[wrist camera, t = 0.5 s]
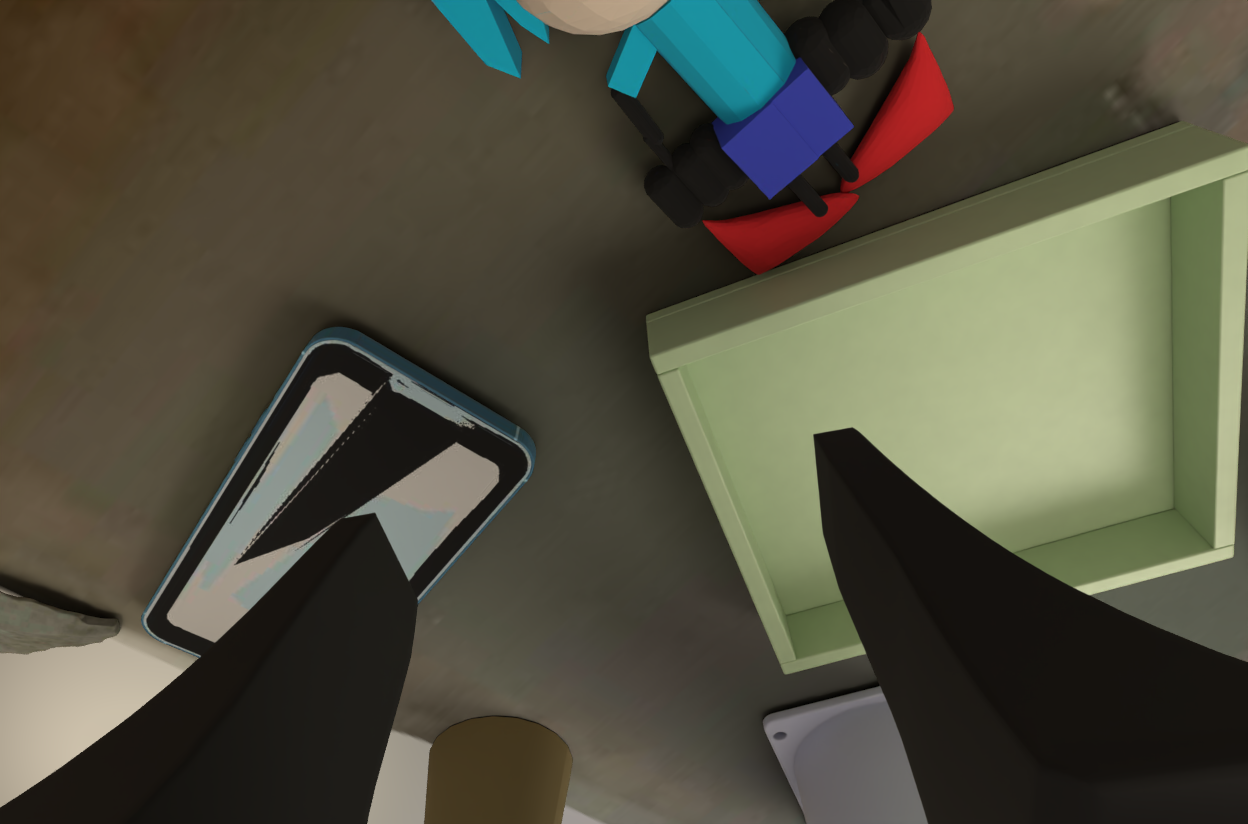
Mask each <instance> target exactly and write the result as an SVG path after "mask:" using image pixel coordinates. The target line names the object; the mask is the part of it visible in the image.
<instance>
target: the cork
mask: <svg viewBox="0 0 1248 824" xmlns="http://www.w3.org/2000/svg"><path fill="white" fill-rule="evenodd" d="M572 762H573V759H572V756H571V753H570V751H569V748H568V746H567V745H566V744H565V743H564V742H563V741H562V739H561V738H560V737H559V736H558V735H557V734H556V733H554V732H552V731H550V730H548V729H546V728H545V727H543V726H541V725H539V724H537V723H533V722H529V721H526V720H522V719H519V718H511V717H496V716H491V717H484V718H476V719H470V720H467V721H464V722H462V723H459V724H456V725H454V726H451V727H450V728H448V729H447V730H446V731H444V732H443V733H442V734H441V735H439V736H438V737H437V738H436V740H435V742H434V743H433V745H432V747H431V749H430V753H429V766H428V780H427V794H426V808H425V820H424V824H561V823H562V817H563V811H564V807H565V801H566V796H567V790H568V785H569V780H570V774H571V768H572Z"/></svg>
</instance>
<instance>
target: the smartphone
mask: <svg viewBox="0 0 1248 824" xmlns="http://www.w3.org/2000/svg"><path fill="white" fill-rule="evenodd" d="M251 433H252V435H251V437H248V439H247V440H246V442H245V444H244V445H243V447H242V449H241V450H240V452H239V453H238V455H237V457H236V458H235V460H234V461H235V463H234V465H233V466H232V468H231V470H230V471H229V473H228V474H227V476H226V478H225V479H224V481H223V483H222V484H221V486H220V488H219V489H218V491H217V492H216V494H215V496H214V497H213V499H212V501H211V502H210V504H209V506H208V507H207V509H206V510H205V512H204V514H203V515H202V517H201V519H200V520H199V522H198V524H197V525H196V527H195V528H194V530H193V532H192V533H191V535H190V537H189V538H188V540H187V542H186V543H185V545H184V547H183V548H182V550H181V551H180V553H179V555H178V556H177V558H176V560H175V561H174V563H173V565H172V566H171V568H170V569H169V571H168V573H167V574H166V576H165V578H164V579H163V581H162V583H161V584H160V586H159V587H158V589H157V591H156V592H155V594H154V596H153V597H152V599H151V601H150V602H149V604H148V605H147V607H146V609H145V610H144V612H143V614H142V616H141V622H142V625H143V628H144V629H145V630H146V632H147V633H148V634H149V635H150V636H152V637H153V638H155V639H156V640H158V641H160V642H162V643H165V644H167V645H169V646H172V647H174V648H177V649H179V650H182V651H184V652H187V653H189V654H191V655H194V656H196V657H199V658H200V657H201V656H202V655H203V654H204V653H205V652H206V651H207V650H208V649H209V648H210V647H211V646H212V645H213V644H214V643H215V642H216V641H217V640H219V639H220V638H221V637H222V636H223V635H224V634H225V633H226V632H227V631H228V630H229V629H230V628H231V627H232V626H233V625H234V624H235V623H236V622H237V621H238V620H239V619H241V618H242V617H243V616H244V615H245V614H246V613H247V612H248V611H249V610H250V609H251V608H252V607H253V606H254V605H255V604H256V603H257V602H258V601H259V600H260V599H261V598H262V597H263V596H264V595H265V594H266V592H267V591H268V590H269V589H270V588H271V587H272V586H273V585H274V584H275V583H276V582H277V581H278V580H279V579H280V578H281V577H282V576H283V575H284V574H285V573H286V572H287V571H288V570H289V569H290V568H291V567H292V566H293V565H294V564H295V563H296V562H297V561H298V560H299V559H300V558H301V556H302V555H303V554H304V553H305V552H306V551H307V550H308V549H309V548H310V547H311V546H312V545H313V544H314V543H315V542H316V541H317V540H318V539H319V538H320V537H321V536H322V535H323V534H324V533H325V532H326V531H327V530H328V529H329V528H331V527H332V526H333V525H334V524H335V523H336V522H337V521H338V520H339V519H341V518H347V517H353V516H358V515H364V514H369V513H376V515H377V517H378V519H379V522H380V524H381V526H382V528H383V530H384V532H385V534H386V536H387V538H388V540H389V542H390V544H391V546H392V548H393V550H394V552H395V554H396V556H397V558H398V560H399V562H400V564H401V566H402V568H403V570H404V572H405V574H406V576H407V578H408V580H409V582H410V584H411V586H412V589H413V591H414V593H415V595H416V597H417V599H418V604H419V603H420V602H421V600H422V599H423V598H424V597H425V596H426V595H427V594H428V592H429V591H430V590H431V589H432V588H433V587H434V586H435V585H436V583H437V582H438V581H439V580H440V579H441V578H442V577H443V576H444V574H445V573H446V572H447V571H448V570H449V569H450V568H451V566H452V565H453V564H454V563H455V562H456V561H457V560H458V559H459V557H460V556H461V555H462V554H463V553H464V552H465V551H466V550H467V548H468V547H469V546H470V545H471V544H472V543H473V542H474V540H475V539H476V538H477V537H478V536H479V535H480V534H481V533H482V531H483V530H484V529H485V528H486V527H487V526H488V525H489V523H490V522H491V521H492V520H493V519H494V518H495V517H496V516H497V514H498V513H499V512H500V511H501V510H502V509H503V508H504V507H505V505H506V504H507V503H508V502H509V501H510V500H511V499H512V497H513V496H514V495H515V494H516V493H517V492H518V491H519V490H520V488H521V487H522V486H523V485H524V484H525V483H526V482H527V481H528V479H529V478H530V476H531V475H532V472H533V469H534V463H535V457H536V448H535V444H534V442H533V440H532V438H531V437H530V435H529V434H528V433H527V432H526V431H525V430H523V429H522V428H520V427H519V426H517V425H515V424H514V423H512V422H510V421H509V420H507V419H505V418H504V417H502V416H500V415H499V414H497V413H495V412H494V411H492V410H490V409H489V408H487V407H485V406H484V405H482V404H480V403H479V402H477V401H475V400H473V399H472V398H470V397H468V396H467V395H465V394H463V393H462V392H460V391H458V390H457V389H455V388H453V387H452V386H450V385H448V384H447V383H445V382H443V381H442V380H440V379H438V378H437V377H435V376H433V375H432V374H430V373H428V372H426V371H425V370H423V369H421V368H420V367H418V366H416V365H415V364H413V363H411V362H410V361H408V360H406V359H405V358H403V357H401V356H400V355H398V354H396V353H395V352H393V351H391V350H390V349H388V348H386V347H384V346H383V345H381V344H379V343H378V342H376V341H374V340H373V339H371V338H369V337H368V336H366V335H364V334H363V333H361V332H359V331H357V330H354V329H351V328H346V327H331V328H327V329H324V330H322V331H320V332H318V333H317V334H316V335H314V336H313V338H312V339H311V340H310V342H309V343H308V345H307V346H306V347H305V349H304V350H303V352H302V353H301V355H300V356H299V358H298V360H297V361H296V363H295V365H294V366H293V368H292V370H291V371H290V373H289V374H288V376H287V378H286V379H285V381H284V383H283V384H282V386H281V388H279V390H278V391H277V393H276V394H275V396H274V398H273V401H272V402H271V404H270V406H269V407H268V409H265V411H264V412H263V414H262V416H261V417H260V419H259V421H258V422H257V424H256V426H255V427H254V429H253V430H252V432H251Z"/></svg>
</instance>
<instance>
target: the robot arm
mask: <svg viewBox="0 0 1248 824" xmlns="http://www.w3.org/2000/svg"><path fill="white" fill-rule="evenodd" d="M813 438H814V448H815V459H816V469H817V479H818V490H819V500H820V510H821V521H822V531H823V536H824V539H825V543H826V546H827V550H828V553H829V557H830V560H831V564H832V567H833V571H834V574H835V577H836V581H837V584H838V587H839V590H840V593H841V595H842V597H843V600H844V602H845V605H846V607H847V609H848V612H849V614H850V616H851V619H852V621H853V624H854V626H855V628H856V631H857V633H858V635H859V638H860V640H861V642H862V645H863V647H864V649H865V652H866V654H867V656H868V659H869V661H870V663H871V666H872V668H873V670H874V673H875V675H876V677H877V680H878V682H879V685H880V686H878V687H874V688H870V689H866V690H862V691H858V692H855V693H851V694H847V695H843V696H839V697H835V698H831V699H827V700H823V701H819V702H815V703H811V704H807V705H803V706H799V707H795V708H792V709H788V710H784V711H780V712H776V713H772V714H769V715H767V716H766V717H765V718H764V720H763V726H764V731H765V733H766V735H767V737H768V739H769V741H770V743H771V746H772V748H773V750H774V752H775V754H776V756H777V758H778V760H779V762H780V765H781V767H782V769H783V771H784V773H785V775H786V777H787V779H788V781H789V784H790V786H791V788H792V790H793V792H794V794H795V796H796V798H797V800H798V802H799V805H800V807H801V809H802V811H803V813H804V816H805V820H806V824H1248V662H1245V661H1242V660H1240V659H1237V658H1234V657H1231V656H1228V655H1225V654H1222V653H1220V652H1217V651H1215V650H1212V649H1209V648H1207V647H1204V646H1202V645H1200V644H1197V643H1195V642H1192V641H1190V640H1187V639H1185V638H1182V637H1180V636H1178V635H1175V634H1173V633H1170V632H1168V631H1165V630H1163V629H1160V628H1158V627H1156V626H1153V625H1151V624H1149V623H1147V622H1145V621H1142V620H1140V619H1138V618H1136V617H1133V616H1131V615H1129V614H1127V613H1124V612H1122V611H1120V610H1118V609H1116V608H1114V607H1112V606H1110V605H1108V604H1106V603H1104V602H1102V601H1100V600H1098V599H1096V598H1094V597H1092V596H1090V595H1088V594H1086V593H1084V592H1081V591H1079V590H1077V589H1075V588H1073V587H1072V586H1070V585H1068V584H1066V583H1064V582H1062V581H1060V580H1058V579H1057V578H1055V577H1053V576H1051V575H1049V574H1047V573H1046V572H1044V571H1042V570H1041V569H1039V568H1037V567H1035V566H1034V565H1032V564H1030V563H1029V562H1027V561H1025V560H1024V559H1022V558H1020V557H1019V556H1017V555H1015V554H1013V553H1012V552H1010V551H1009V550H1007V549H1006V548H1004V547H1003V546H1001V545H1000V544H998V543H996V542H995V541H993V540H992V539H990V538H989V537H988V536H986V535H985V534H983V533H982V532H980V531H979V530H978V529H976V528H975V527H973V526H972V525H970V524H969V523H968V522H966V521H965V520H963V519H962V518H961V517H959V516H958V515H957V514H955V513H954V512H953V511H951V510H950V509H949V508H947V507H946V506H945V505H943V504H942V503H941V502H940V501H938V500H937V499H936V498H935V497H933V496H932V495H931V494H930V493H928V492H927V491H926V490H925V489H923V488H922V487H921V486H920V485H918V484H917V483H916V482H915V481H914V480H912V479H911V478H910V477H909V476H908V475H906V474H905V473H904V472H903V471H902V470H901V469H900V468H898V467H897V466H896V465H895V464H894V463H893V462H892V461H890V460H889V459H888V458H887V457H886V456H885V455H884V454H883V453H882V452H880V451H879V450H878V449H877V448H876V447H875V446H874V445H873V444H872V443H871V442H870V441H869V440H868V439H867V438H866V437H865V436H863V435H862V434H861V433H860V432H859V431H858V430H856V429H855V428H853V427H851V428H845V429H840V430H834V431H828V432H823V433H817V434H813ZM417 606H418V599H417V597H416V595H415V593H414V591H413V589H412V586H411V584H410V582H409V580H408V578H407V576H406V574H405V572H404V570H403V568H402V566H401V564H400V562H399V560H398V558H397V556H396V554H395V552H394V550H393V548H392V546H391V544H390V542H389V540H388V538H387V536H386V534H385V532H384V530H383V528H382V526H381V524H380V522H379V519H378V517H377V515H376V513H369V514H364V515H358V516H353V517H347V518H341V519H339V520H338V521H337V522H336V523H335V524H334V525H333V526H332V527H331V528H329V529H328V530H327V531H326V532H325V533H324V534H323V535H322V536H321V537H320V538H319V539H318V540H317V541H316V542H315V543H314V544H313V545H312V546H311V547H310V548H309V549H308V550H307V551H306V552H305V553H304V554H303V555H302V556H301V558H300V559H299V560H298V561H297V562H296V563H295V564H294V565H293V566H292V567H291V568H290V569H289V570H288V571H287V572H286V573H285V574H284V575H283V576H282V577H281V578H280V579H279V580H278V581H277V582H276V583H275V584H274V585H273V586H272V587H271V588H270V589H269V590H268V591H267V592H266V594H265V595H264V596H263V597H262V598H261V599H260V600H259V601H258V602H257V603H256V604H255V605H254V606H253V607H252V608H251V609H250V610H249V611H248V612H247V613H246V614H245V615H244V616H243V617H242V618H241V619H239V620H238V621H237V622H236V623H235V624H234V625H233V626H232V627H231V628H230V629H229V630H228V631H227V632H226V633H225V634H224V635H223V636H222V637H221V638H220V639H219V640H217V641H216V642H215V643H214V644H213V645H212V646H211V647H210V648H209V649H208V650H207V651H206V652H205V653H204V654H203V655H202V656H201V657H200V658H199V659H197V660H196V661H195V662H194V663H193V664H192V665H191V666H190V667H189V668H187V669H186V670H185V671H184V672H183V673H182V674H181V675H180V676H178V677H177V678H176V679H175V680H174V681H172V682H171V683H170V684H169V685H168V686H167V687H165V688H164V689H163V690H162V691H161V692H159V693H158V694H157V695H156V696H155V697H153V698H152V699H151V700H150V701H148V702H147V703H146V704H145V705H144V706H142V707H141V708H140V709H139V710H138V711H136V712H135V713H134V714H132V715H131V716H130V717H129V718H127V719H126V720H125V721H124V722H122V723H121V724H119V725H118V726H117V727H115V728H114V729H113V730H111V731H110V732H108V733H107V734H106V735H104V736H103V737H102V738H100V739H99V740H98V741H96V742H95V743H94V744H92V745H91V746H89V747H88V748H87V749H85V750H84V751H83V752H81V753H80V754H79V755H77V756H76V757H74V758H73V759H72V760H70V761H69V762H68V763H66V764H65V765H64V766H62V767H61V768H59V769H58V770H56V771H55V772H54V773H52V774H51V775H49V776H48V777H46V778H45V779H43V780H42V781H40V782H39V783H37V784H36V785H34V786H33V787H31V788H30V789H28V790H27V791H25V792H24V793H22V794H21V795H19V796H18V797H16V798H15V799H13V800H11V801H10V802H8V803H7V804H5V805H4V806H2V807H0V824H367V822H368V816H369V812H370V807H371V803H372V799H373V794H374V790H375V786H376V782H377V779H378V775H379V771H380V768H381V764H382V760H383V757H384V753H385V750H386V746H387V743H388V739H389V735H390V732H391V728H392V725H393V721H394V718H395V714H396V711H397V707H398V703H399V700H400V696H401V692H402V689H403V685H404V681H405V677H406V674H407V670H408V666H409V662H410V658H411V653H412V646H413V639H414V632H415V624H416V615H417Z"/></svg>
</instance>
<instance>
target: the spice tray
mask: <svg viewBox="0 0 1248 824" xmlns="http://www.w3.org/2000/svg"><path fill="white" fill-rule="evenodd" d="M1247 254H1248V144H1247V143H1244V142H1241V141H1238V140H1235V139H1232V138H1229V137H1227V136H1224V135H1221V134H1218V133H1215V132H1212V131H1209V130H1206V129H1203V128H1201V127H1198V126H1194V125H1193V124H1190V123H1187V122H1184V121H1180V122H1178V123H1175V124H1172V125H1169V126H1167V127H1164V128H1161V129H1158V130H1156V131H1153V132H1150V133H1147V134H1145V135H1142V136H1139V137H1136V138H1134V139H1131V140H1128V141H1125V142H1122V143H1120V144H1117V145H1114V146H1111V147H1109V148H1106V149H1103V150H1100V151H1098V152H1095V153H1092V154H1089V155H1087V156H1084V157H1081V158H1078V159H1076V160H1073V161H1070V162H1067V163H1065V164H1062V165H1059V166H1056V167H1054V168H1051V169H1048V170H1045V171H1042V172H1040V173H1037V174H1034V175H1031V176H1029V177H1026V178H1023V179H1020V180H1018V181H1015V182H1012V183H1009V184H1007V185H1004V186H1001V187H998V188H996V189H993V190H990V191H987V192H985V193H982V194H979V195H976V196H974V197H971V198H968V199H965V200H962V201H960V202H957V203H954V204H951V205H949V206H946V207H943V208H940V209H938V210H935V211H932V212H929V213H927V214H924V215H921V216H918V217H916V218H913V219H910V220H907V221H905V222H902V223H899V224H896V225H894V226H891V227H888V228H885V229H882V230H880V231H877V232H874V233H871V234H869V235H866V236H863V237H860V238H858V239H855V240H852V241H849V242H847V243H844V244H841V245H838V246H836V247H833V248H830V249H827V250H825V251H822V252H819V253H816V254H814V255H811V256H808V257H805V258H802V259H800V260H797V261H794V262H791V263H789V264H786V265H783V266H780V267H778V268H775V269H772V270H769V271H767V272H764V273H762V274H760V275H756V276H753V277H750V278H747V279H745V280H742V281H739V282H736V283H734V284H731V285H728V286H725V287H722V288H720V289H717V290H714V291H711V292H709V293H706V294H703V295H700V296H698V297H695V298H692V299H689V300H687V301H684V302H681V303H678V304H676V305H673V306H670V307H667V308H665V309H662V310H659V311H656V312H654V313H651V314H648V315H646V324H647V336H648V347H649V357H650V360H651V363H652V365H653V367H654V370H655V372H656V373H657V376H658V379H659V381H660V384H661V386H662V388H663V391H664V393H665V395H666V398H667V400H668V402H669V405H670V407H671V410H672V412H673V414H674V417H675V419H676V421H677V424H678V426H679V428H680V431H681V433H682V435H683V438H684V440H685V442H686V445H687V447H688V449H689V452H690V454H691V457H692V459H693V461H694V464H695V466H696V468H697V471H698V473H699V475H700V478H701V480H702V482H703V485H704V487H705V489H706V492H707V494H708V496H709V499H710V501H711V504H712V506H713V508H714V511H715V513H716V515H717V518H718V520H719V522H720V525H721V527H722V529H723V532H724V534H725V536H726V539H727V541H728V543H729V546H730V548H731V551H732V553H733V555H734V558H735V560H736V562H737V565H738V567H739V569H740V572H741V574H742V576H743V579H744V581H745V583H746V586H747V588H748V590H749V593H750V595H751V598H752V600H753V602H754V605H755V607H756V609H757V612H758V614H759V616H760V619H761V621H762V623H763V626H764V628H765V630H766V633H767V635H768V637H769V640H770V642H771V645H772V647H773V649H774V652H775V654H776V656H777V659H778V661H779V663H780V666H781V668H782V670H783V673H784V674H785V675H787V674H791V673H794V672H798V671H802V670H806V669H810V668H813V667H817V666H821V665H825V664H829V663H832V662H836V661H840V660H844V659H848V658H851V657H855V656H859V655H863V654H866V652H865V649H864V647H863V645H862V642H861V640H860V638H859V635H858V633H857V631H856V628H855V626H854V624H853V621H852V619H851V616H850V614H849V612H848V609H847V607H846V605H845V602H844V600H843V597H842V595H841V593H840V590H839V587H838V584H837V581H836V577H835V574H834V571H833V567H832V564H831V560H830V557H829V553H828V550H827V546H826V543H825V539H824V536H823V531H822V521H821V510H820V500H819V490H818V479H817V469H816V459H815V448H814V438H813V434H817V433H823V432H828V431H834V430H840V429H845V428H851V427H853V428H855V429H856V430H858V431H859V432H860V433H861V434H862V435H863V436H865V437H866V438H867V439H868V440H869V441H870V442H871V443H872V444H873V445H874V446H875V447H876V448H877V449H878V450H879V451H880V452H882V453H883V454H884V455H885V456H886V457H887V458H888V459H889V460H890V461H892V462H893V463H894V464H895V465H896V466H897V467H898V468H900V469H901V470H902V471H903V472H904V473H905V474H906V475H908V476H909V477H910V478H911V479H912V480H914V481H915V482H916V483H917V484H918V485H920V486H921V487H922V488H923V489H925V490H926V491H927V492H928V493H930V494H931V495H932V496H933V497H935V498H936V499H937V500H938V501H940V502H941V503H942V504H943V505H945V506H946V507H947V508H949V509H950V510H951V511H953V512H954V513H955V514H957V515H958V516H959V517H961V518H962V519H963V520H965V521H966V522H968V523H969V524H970V525H972V526H973V527H975V528H976V529H978V530H979V531H980V532H982V533H983V534H985V535H986V536H988V537H989V538H990V539H992V540H993V541H995V542H996V543H998V544H1000V545H1001V546H1003V547H1004V548H1006V549H1007V550H1009V551H1010V552H1012V553H1013V554H1015V555H1017V556H1019V557H1020V558H1022V559H1024V560H1025V561H1027V562H1029V563H1030V564H1032V565H1034V566H1035V567H1037V568H1039V569H1041V570H1042V571H1044V572H1046V573H1047V574H1049V575H1051V576H1053V577H1055V578H1057V579H1058V580H1060V581H1062V582H1064V583H1066V584H1068V585H1070V586H1072V587H1073V588H1075V589H1077V590H1079V591H1081V592H1084V593H1086V594H1088V595H1091V594H1095V593H1099V592H1103V591H1107V590H1111V589H1114V588H1118V587H1122V586H1126V585H1130V584H1133V583H1137V582H1141V581H1145V580H1149V579H1152V578H1156V577H1160V576H1164V575H1168V574H1171V573H1175V572H1179V571H1183V570H1187V569H1191V568H1194V567H1198V566H1202V565H1206V564H1210V563H1213V562H1217V561H1221V560H1225V559H1229V558H1232V557H1233V556H1234V543H1235V523H1236V500H1237V478H1238V455H1239V433H1240V411H1241V388H1242V366H1243V343H1244V321H1245V298H1246V276H1247Z"/></svg>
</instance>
